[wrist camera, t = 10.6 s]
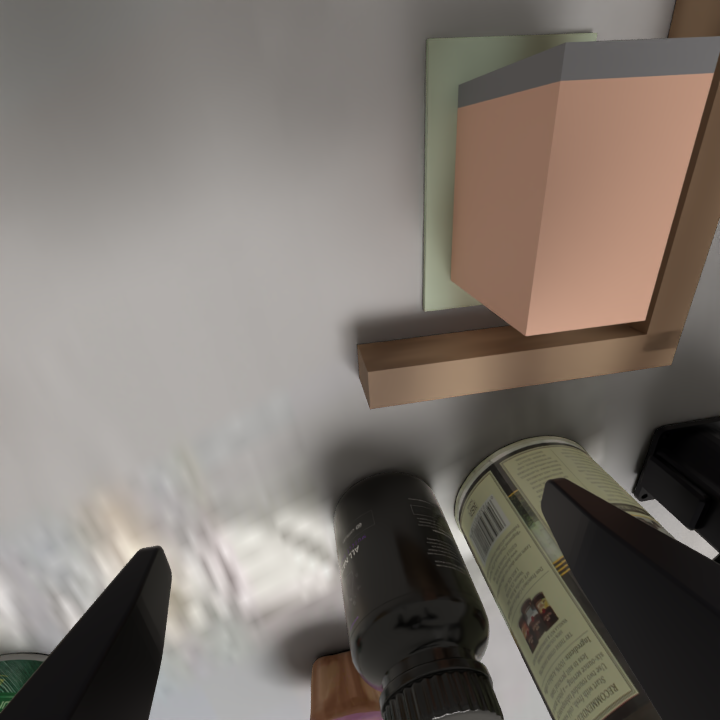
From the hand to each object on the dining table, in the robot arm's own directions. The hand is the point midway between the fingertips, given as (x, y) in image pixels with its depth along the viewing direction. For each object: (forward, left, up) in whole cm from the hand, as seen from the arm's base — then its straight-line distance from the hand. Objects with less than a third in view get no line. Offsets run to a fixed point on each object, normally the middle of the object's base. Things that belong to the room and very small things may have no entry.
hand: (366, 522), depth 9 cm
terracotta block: (-9, -6, -12) cm, 16 cm away
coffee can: (-13, +14, -13) cm, 23 cm away
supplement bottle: (-3, +13, -13) cm, 18 cm away
